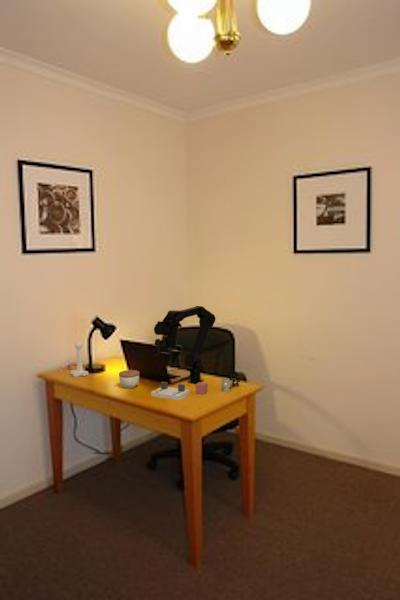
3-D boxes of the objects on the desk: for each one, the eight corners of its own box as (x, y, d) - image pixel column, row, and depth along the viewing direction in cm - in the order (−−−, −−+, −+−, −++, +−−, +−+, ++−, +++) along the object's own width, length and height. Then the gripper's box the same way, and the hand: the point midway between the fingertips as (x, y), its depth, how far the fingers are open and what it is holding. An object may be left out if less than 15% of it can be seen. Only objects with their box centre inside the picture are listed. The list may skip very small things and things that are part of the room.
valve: (229, 393, 234) (240, 387, 244) (229, 380, 233) (240, 374, 243) (218, 391, 237) (229, 385, 247) (217, 379, 237) (228, 373, 247)
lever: (179, 389, 234) (179, 383, 234) (184, 390, 233) (184, 384, 232) (178, 390, 233) (177, 384, 232) (183, 391, 231) (183, 385, 231)
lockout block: (199, 391, 238) (199, 381, 237) (207, 392, 236) (207, 382, 235) (195, 393, 234) (195, 384, 233) (203, 395, 232) (203, 385, 231)
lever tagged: (162, 387, 239) (162, 381, 238) (167, 388, 237) (167, 382, 237) (161, 388, 237) (160, 382, 237) (166, 388, 236) (165, 383, 235)
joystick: (89, 374, 273) (88, 341, 270) (81, 378, 266) (79, 343, 264) (75, 372, 278) (73, 339, 275) (66, 376, 271) (64, 342, 269)
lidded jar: (115, 388, 246) (114, 370, 245) (128, 382, 255) (127, 366, 254) (131, 391, 241) (130, 373, 240) (143, 385, 250) (143, 368, 249)
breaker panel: (162, 389, 241) (162, 383, 241) (189, 393, 234) (189, 387, 234) (150, 396, 232) (150, 389, 231) (178, 400, 224) (178, 393, 224)
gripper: (165, 332, 252) (162, 361, 252) (150, 334, 234) (147, 365, 234) (184, 335, 248) (181, 364, 248) (170, 336, 230) (167, 368, 230)
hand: (169, 365), depth 240 cm, fingers open, 9 cm apart
